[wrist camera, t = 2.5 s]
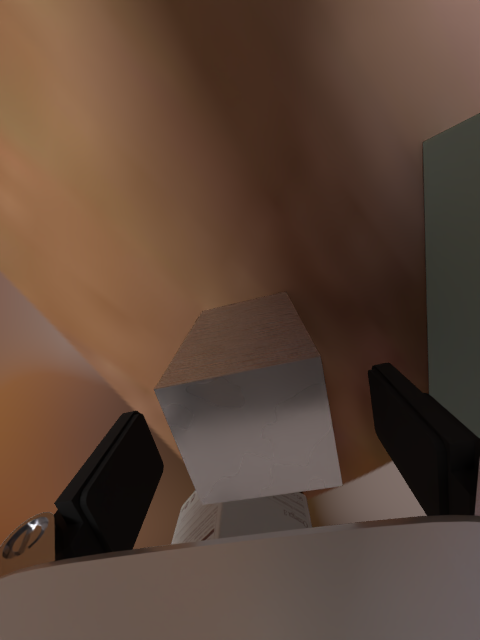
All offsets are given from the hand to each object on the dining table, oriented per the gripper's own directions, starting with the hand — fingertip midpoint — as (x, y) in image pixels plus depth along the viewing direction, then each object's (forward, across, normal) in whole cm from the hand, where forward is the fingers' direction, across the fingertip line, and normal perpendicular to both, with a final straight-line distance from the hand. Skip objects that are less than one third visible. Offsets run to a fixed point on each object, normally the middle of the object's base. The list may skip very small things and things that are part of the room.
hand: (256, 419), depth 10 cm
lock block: (+6, 0, -1) cm, 6 cm away
